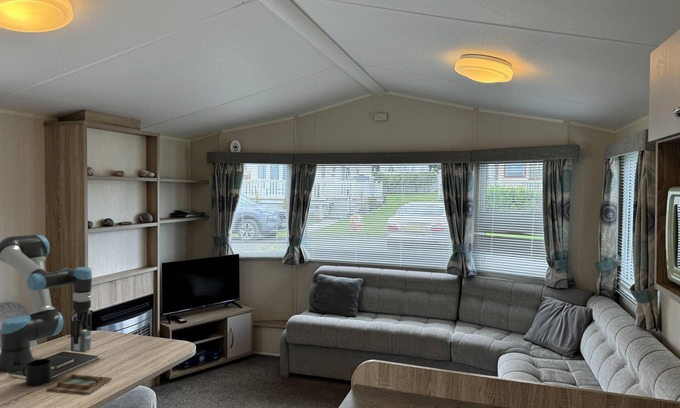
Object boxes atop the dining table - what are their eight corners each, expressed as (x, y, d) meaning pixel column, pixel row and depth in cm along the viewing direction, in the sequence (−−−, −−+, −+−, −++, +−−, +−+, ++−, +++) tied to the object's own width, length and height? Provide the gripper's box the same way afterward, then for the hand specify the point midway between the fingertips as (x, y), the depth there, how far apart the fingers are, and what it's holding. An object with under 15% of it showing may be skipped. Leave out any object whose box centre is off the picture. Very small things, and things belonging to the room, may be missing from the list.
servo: (67, 350, 225) (68, 330, 225) (73, 347, 230) (74, 327, 229) (87, 352, 224) (87, 332, 224) (93, 349, 229) (93, 329, 228)
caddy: (46, 390, 207) (46, 385, 206) (71, 376, 222) (71, 371, 222) (89, 394, 204) (89, 389, 204) (111, 379, 220) (111, 374, 220)
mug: (28, 377, 219) (29, 358, 219) (55, 378, 220) (55, 359, 219) (15, 386, 210) (15, 366, 210) (42, 386, 210) (43, 366, 210)
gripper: (77, 305, 217) (75, 355, 218) (100, 296, 234) (99, 342, 235) (61, 304, 218) (60, 353, 219) (86, 295, 235) (85, 341, 236)
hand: (80, 348), depth 227 cm, fingers closed on servo, 4 cm apart
